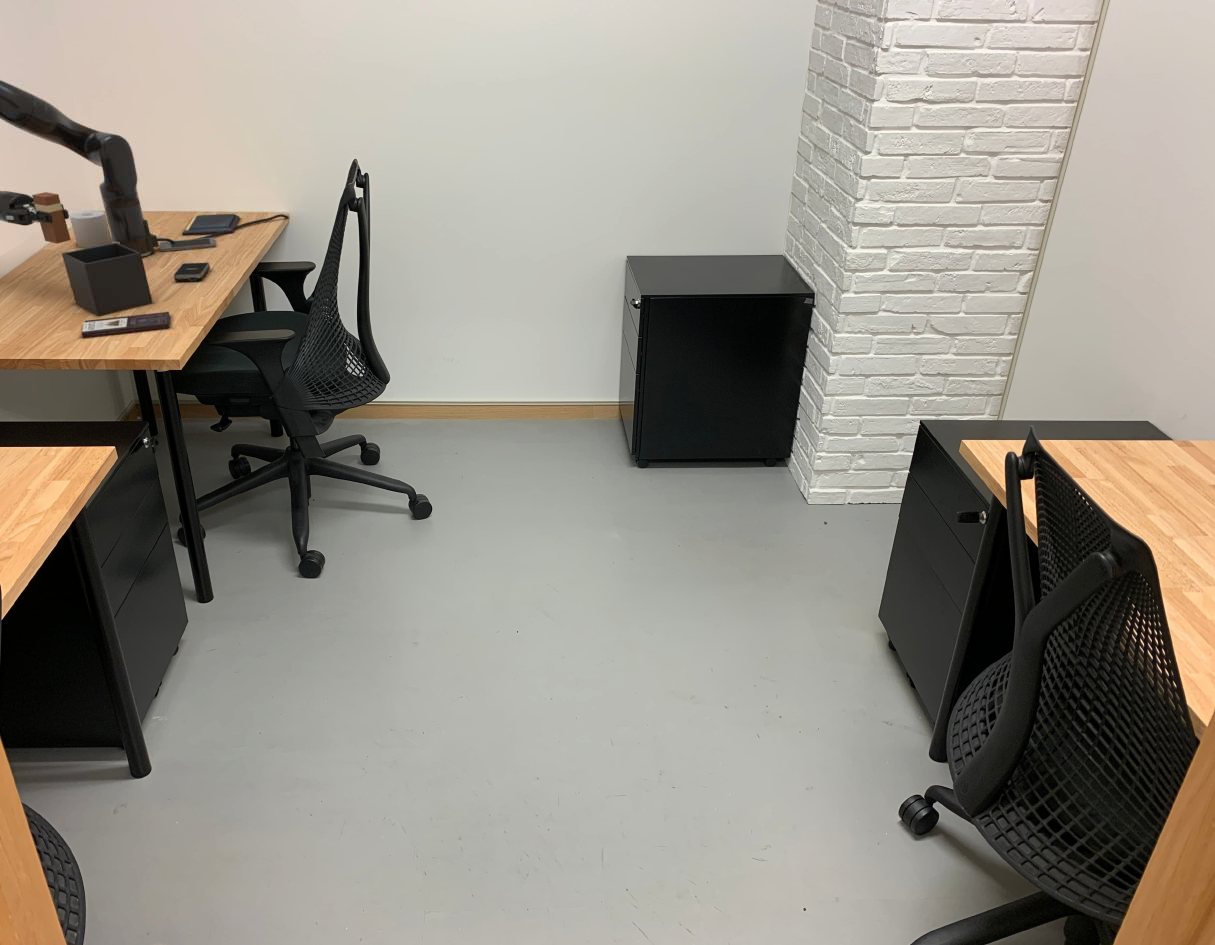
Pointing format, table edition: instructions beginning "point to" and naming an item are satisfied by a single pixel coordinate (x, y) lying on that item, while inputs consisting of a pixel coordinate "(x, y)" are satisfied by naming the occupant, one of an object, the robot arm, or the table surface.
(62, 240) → the chocolate box
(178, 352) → the table surface
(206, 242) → the smartphone
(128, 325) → the chocolate bar
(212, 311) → the table surface
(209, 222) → the dark blue book
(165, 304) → the table surface
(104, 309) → the trash can
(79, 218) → the toilet tissue
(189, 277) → the external hard drive
